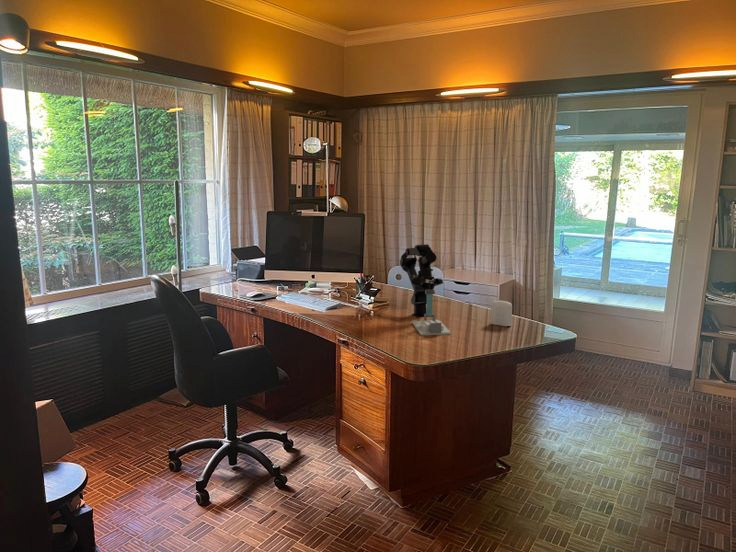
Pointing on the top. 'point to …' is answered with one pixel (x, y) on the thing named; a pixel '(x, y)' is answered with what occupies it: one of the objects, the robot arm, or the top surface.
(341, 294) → the top surface
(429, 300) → the lever
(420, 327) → the heatsink board
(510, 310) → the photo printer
